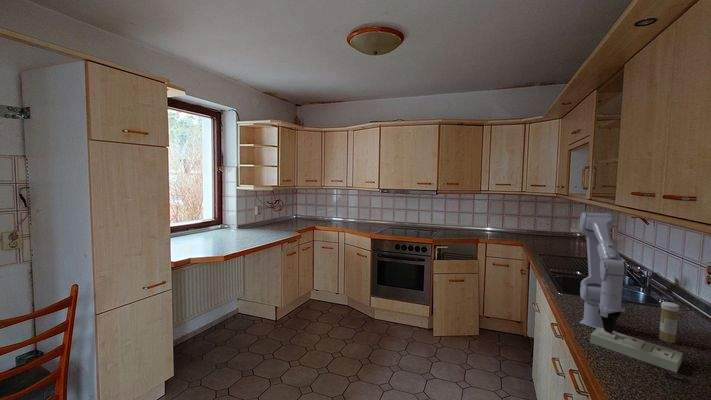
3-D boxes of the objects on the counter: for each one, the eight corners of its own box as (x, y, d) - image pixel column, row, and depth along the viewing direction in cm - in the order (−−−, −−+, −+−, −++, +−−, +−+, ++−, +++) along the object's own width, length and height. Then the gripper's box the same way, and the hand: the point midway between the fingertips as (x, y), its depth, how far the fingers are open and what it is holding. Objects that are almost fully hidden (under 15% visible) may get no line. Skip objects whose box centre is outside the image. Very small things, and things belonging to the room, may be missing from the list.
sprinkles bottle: (658, 335, 120) (661, 300, 118) (675, 340, 116) (679, 303, 115) (658, 340, 116) (661, 303, 115) (676, 345, 113) (679, 307, 112)
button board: (598, 334, 120) (598, 326, 120) (681, 361, 103) (682, 352, 103) (589, 342, 115) (590, 334, 115) (676, 372, 98) (677, 363, 97)
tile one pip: (627, 341, 112) (627, 334, 112) (643, 346, 108) (644, 340, 108) (623, 345, 109) (624, 339, 109) (640, 351, 106) (641, 344, 105)
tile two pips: (654, 352, 106) (654, 346, 106) (672, 358, 103) (673, 352, 103) (651, 357, 104) (651, 350, 104) (670, 364, 100) (670, 357, 100)
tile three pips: (602, 333, 117) (602, 327, 117) (617, 338, 114) (618, 332, 114) (598, 337, 115) (598, 331, 114) (613, 342, 111) (614, 335, 111)
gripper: (619, 302, 105) (616, 342, 106) (631, 292, 114) (628, 329, 115) (593, 295, 111) (591, 334, 112) (606, 286, 120) (604, 322, 121)
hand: (608, 331), depth 114 cm, fingers closed
